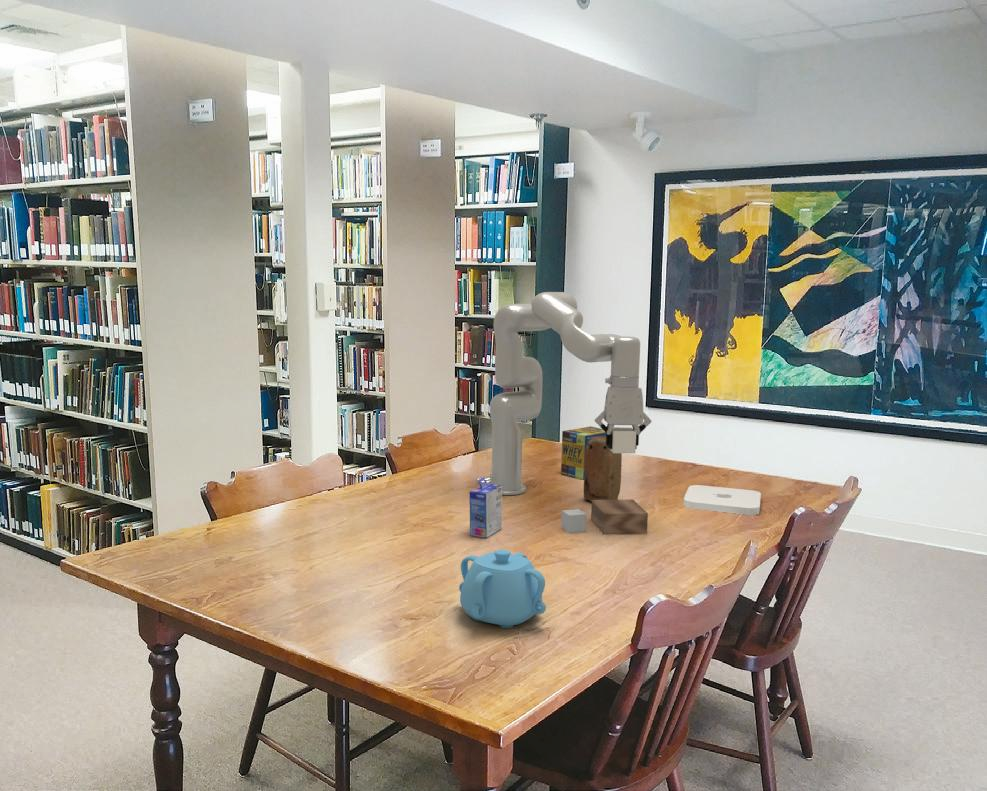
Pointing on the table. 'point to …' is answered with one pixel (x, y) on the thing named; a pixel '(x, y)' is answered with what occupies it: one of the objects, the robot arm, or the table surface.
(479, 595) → the decorative pot
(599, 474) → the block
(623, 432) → the cream block
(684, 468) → the table surface
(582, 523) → the grey block
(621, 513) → the walnut block
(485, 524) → the ink cartridge box
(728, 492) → the computer
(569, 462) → the protein box
